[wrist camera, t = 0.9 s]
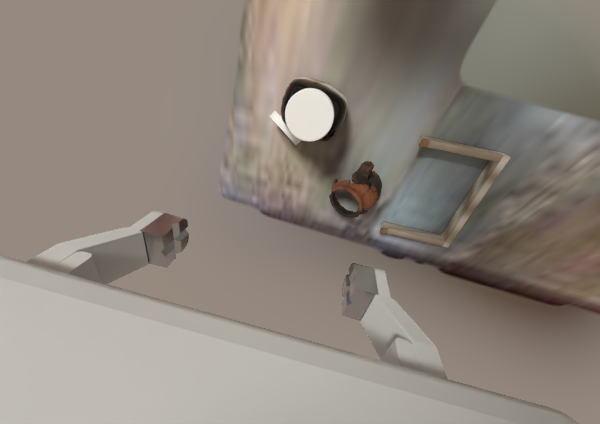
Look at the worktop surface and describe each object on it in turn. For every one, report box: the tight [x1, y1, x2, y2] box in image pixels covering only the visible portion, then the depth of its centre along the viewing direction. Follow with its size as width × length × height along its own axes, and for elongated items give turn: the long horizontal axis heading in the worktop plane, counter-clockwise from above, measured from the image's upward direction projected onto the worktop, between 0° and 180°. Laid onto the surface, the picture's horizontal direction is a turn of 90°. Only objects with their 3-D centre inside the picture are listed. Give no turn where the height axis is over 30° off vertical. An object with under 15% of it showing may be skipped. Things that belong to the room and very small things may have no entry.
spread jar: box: [270, 77, 347, 145], centre depth 37 cm, size 12×11×12 cm
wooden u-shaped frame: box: [380, 136, 511, 247], centre depth 45 cm, size 20×15×3 cm
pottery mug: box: [329, 161, 382, 218], centre depth 46 cm, size 12×9×8 cm
